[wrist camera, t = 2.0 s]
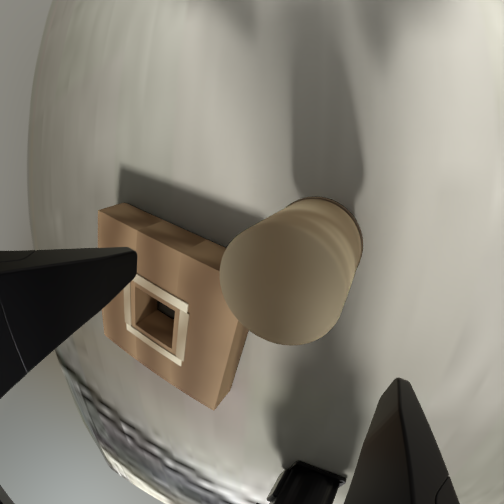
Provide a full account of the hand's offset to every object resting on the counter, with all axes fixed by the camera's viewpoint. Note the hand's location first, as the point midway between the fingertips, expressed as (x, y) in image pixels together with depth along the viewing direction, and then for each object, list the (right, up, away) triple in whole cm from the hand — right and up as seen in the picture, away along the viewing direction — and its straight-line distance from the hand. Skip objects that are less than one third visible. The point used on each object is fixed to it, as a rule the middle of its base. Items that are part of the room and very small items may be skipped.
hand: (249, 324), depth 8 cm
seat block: (-7, -2, +17) cm, 18 cm away
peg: (+5, +3, +9) cm, 11 cm away
